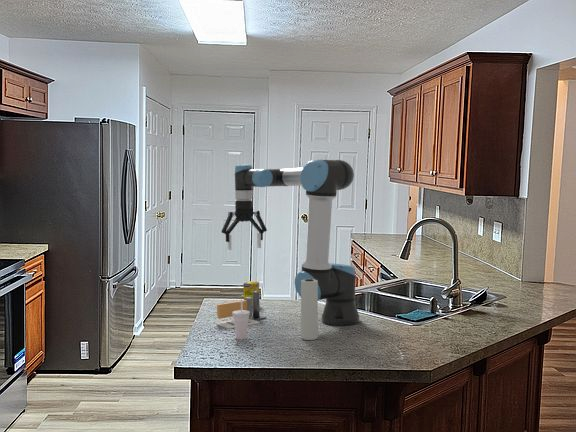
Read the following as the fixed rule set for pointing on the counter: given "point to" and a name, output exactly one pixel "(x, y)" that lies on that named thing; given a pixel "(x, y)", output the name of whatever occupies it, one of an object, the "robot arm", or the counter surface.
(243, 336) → the smoothie
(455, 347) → the counter surface
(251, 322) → the label tile
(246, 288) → the supplement box
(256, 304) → the pivot post
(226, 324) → the label tile
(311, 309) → the paper towel roll
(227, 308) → the orange rectangular slab
